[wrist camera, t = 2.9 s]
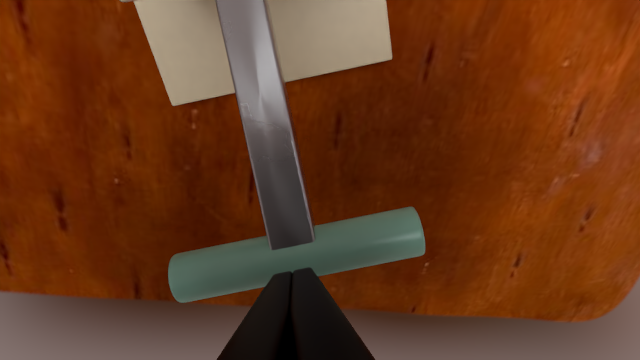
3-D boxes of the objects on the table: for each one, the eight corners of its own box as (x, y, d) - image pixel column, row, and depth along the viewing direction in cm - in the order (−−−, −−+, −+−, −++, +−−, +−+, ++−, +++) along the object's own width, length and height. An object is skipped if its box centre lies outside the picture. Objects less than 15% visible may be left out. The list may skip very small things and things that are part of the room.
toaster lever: (412, 242, 11) (437, 268, 9) (198, 285, 11) (163, 322, 9) (331, -181, 10) (333, -280, 8) (101, -127, 10) (34, -209, 8)
